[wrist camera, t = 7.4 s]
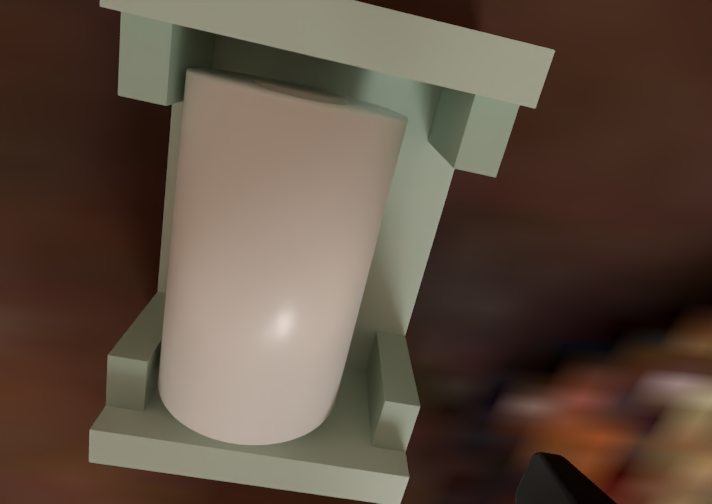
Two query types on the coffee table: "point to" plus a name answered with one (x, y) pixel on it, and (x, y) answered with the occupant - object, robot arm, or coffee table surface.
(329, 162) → the cylinder
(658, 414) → the coffee table surface
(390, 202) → the cradle
